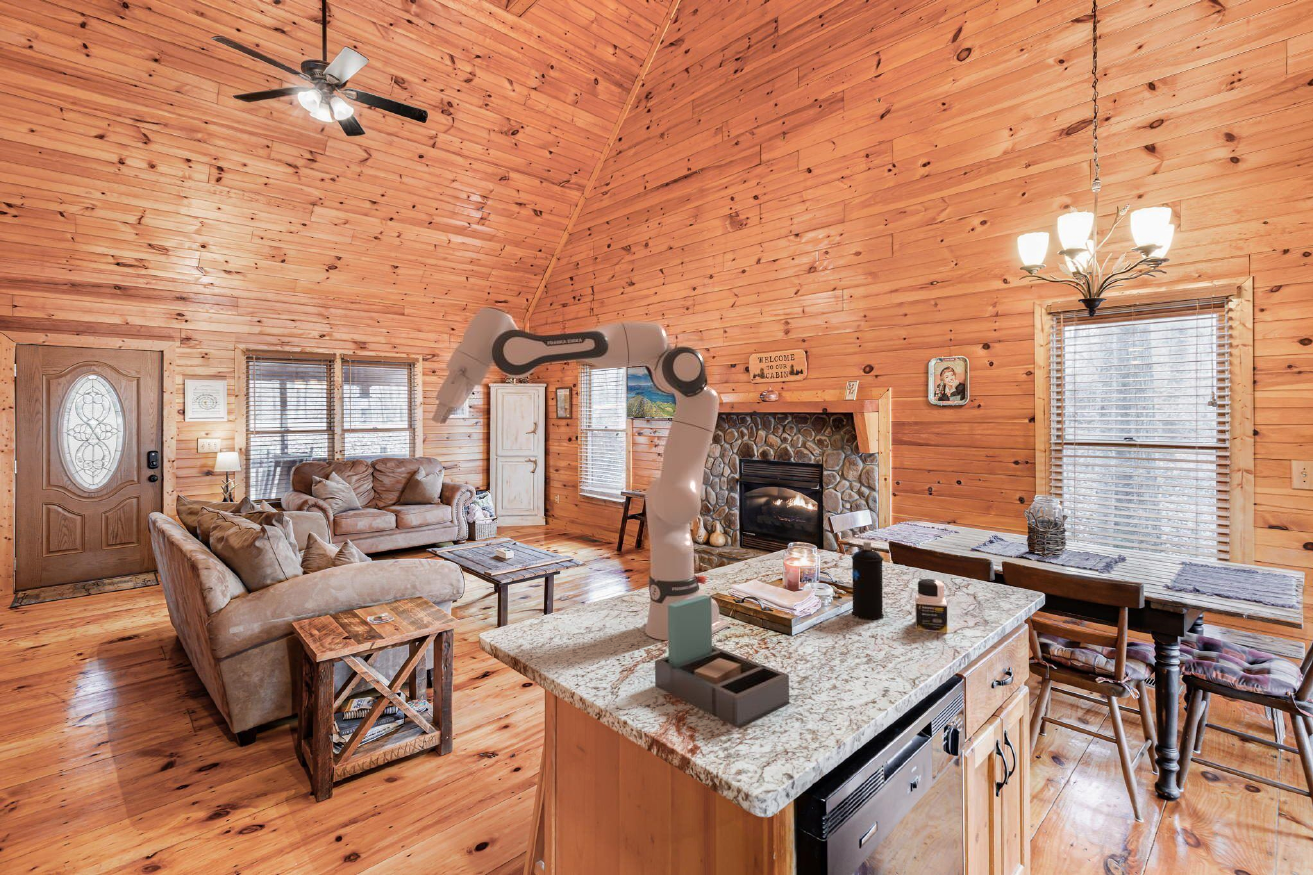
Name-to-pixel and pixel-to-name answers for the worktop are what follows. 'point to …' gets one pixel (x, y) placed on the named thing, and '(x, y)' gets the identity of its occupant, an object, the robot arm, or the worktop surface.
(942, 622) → the medicine bottle
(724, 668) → the walnut offcut
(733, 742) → the worktop surface
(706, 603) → the teal panel
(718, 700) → the rack
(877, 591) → the aerosol can
